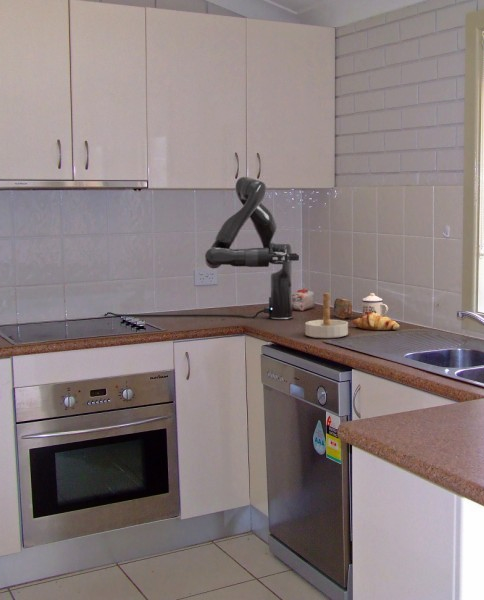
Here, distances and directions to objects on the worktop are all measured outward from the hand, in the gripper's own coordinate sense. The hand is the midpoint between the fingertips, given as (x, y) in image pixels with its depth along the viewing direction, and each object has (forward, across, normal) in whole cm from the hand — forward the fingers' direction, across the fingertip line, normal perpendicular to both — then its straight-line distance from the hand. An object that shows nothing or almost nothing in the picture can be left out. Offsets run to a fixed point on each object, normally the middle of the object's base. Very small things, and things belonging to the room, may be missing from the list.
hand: (297, 256), depth 333 cm
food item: (+8, +65, +30) cm, 72 cm away
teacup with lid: (+36, +25, +30) cm, 53 cm away
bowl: (+10, -11, +30) cm, 34 cm away
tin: (+23, +35, +30) cm, 52 cm away
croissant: (+32, +1, +30) cm, 44 cm away
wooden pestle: (+10, -11, +29) cm, 33 cm away
